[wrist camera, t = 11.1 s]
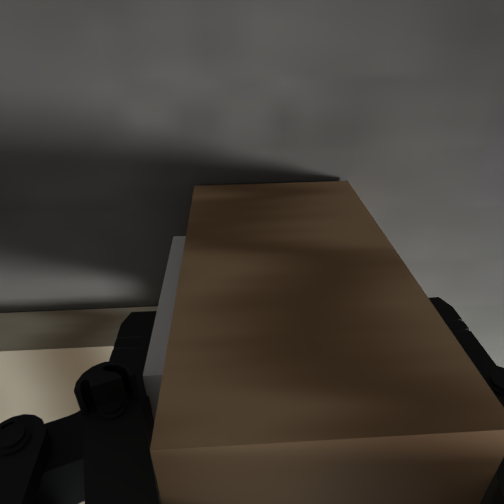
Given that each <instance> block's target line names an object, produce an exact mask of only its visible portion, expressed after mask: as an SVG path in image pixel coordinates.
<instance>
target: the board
mask: <svg viewBox="0 0 504 504" xmlns="http://www.w3.org/2000/svg"><path fill="white" fill-rule="evenodd" d="M157 308H158V306H152V307H129V308H105V309H82V310H59V311H36V312H13V313H0V423H1V422H3V421H5V420H7V419H9V418H11V417H14V416H18V415H22V414H30V415H36V416H37V417H39V418H41V419H42V420H43V422H44V424H45V423H48V422H51V421H54V420H57V419H60V418H63V417H67V416H69V415H72V414H74V413H76V412H78V411H80V408H79V405H78V402H77V399H76V396H75V393H74V388H75V384H76V382H77V380H78V379H79V378H80V376H81V375H82V374H83V373H84V372H85V371H87V370H88V369H89V368H91V367H92V366H95V365H97V364H100V363H102V362H108V361H109V359H110V356H111V353H112V350H113V349H114V344H115V341H116V339H117V335H118V332H119V328H120V325H121V323H122V322H123V321H124V320H125V319H126V318H127V316H128V315H129V314H130V313H131V312H143V311H157ZM79 504H85V501H84V502H81V503H79Z"/></svg>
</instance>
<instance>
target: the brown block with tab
mask: <svg viewBox="0 0 504 504" xmlns="http://www.w3.org/2000/svg"><path fill="white" fill-rule="evenodd" d="M150 453H151V458H152V462H153V466H154V471H155V475H156V479H157V483H158V488H159V492H160V496H161V501H162V504H480V502H481V500H482V498H483V496H484V494H485V492H486V490H487V488H488V487H489V485H490V483H491V481H492V479H493V477H494V475H495V473H496V471H497V469H498V467H499V465H500V463H501V461H502V460H503V458H504V407H503V406H502V404H501V403H500V402H499V400H498V399H497V397H496V396H495V394H494V393H493V391H492V390H491V388H490V387H489V386H488V384H487V383H486V381H485V380H484V378H483V377H482V375H481V374H480V373H479V371H478V370H477V368H476V367H475V365H474V364H473V362H472V361H471V359H470V358H469V357H468V355H467V354H466V352H465V351H464V349H463V348H462V346H461V345H460V343H459V342H458V341H457V339H456V338H455V336H454V335H453V333H452V332H451V330H450V329H449V327H448V326H447V325H446V323H445V322H444V320H443V319H442V317H441V316H440V314H439V313H438V312H437V310H436V309H435V307H434V306H433V304H432V303H431V301H430V300H429V298H428V297H427V296H426V294H425V293H424V291H423V290H422V288H421V287H420V285H419V284H418V282H417V281H416V280H415V278H414V277H413V275H412V274H411V272H410V271H409V269H408V268H407V267H406V265H405V264H404V262H403V261H402V259H401V258H400V256H399V255H398V253H397V252H396V251H395V249H394V248H393V246H392V245H391V243H390V242H389V240H388V239H387V237H386V236H385V235H384V233H383V232H382V230H381V229H380V227H379V226H378V224H377V223H376V222H375V220H374V219H373V217H372V216H371V214H370V213H369V211H368V210H367V208H366V207H365V206H364V204H363V203H362V201H361V200H360V198H359V197H358V195H357V194H356V192H355V191H354V190H353V188H352V187H351V185H350V184H349V182H348V181H329V182H297V183H266V184H234V185H202V186H194V191H193V197H192V203H191V208H190V214H189V220H188V226H187V232H186V238H185V244H184V250H183V256H182V262H181V268H180V274H179V280H178V286H177V292H176V298H175V304H174V310H173V316H172V322H171V327H170V333H169V339H168V345H167V351H166V357H165V363H164V369H163V375H162V381H161V387H160V393H159V399H158V405H157V411H156V417H155V423H154V429H153V435H152V441H151V447H150Z"/></svg>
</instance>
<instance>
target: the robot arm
mask: <svg viewBox="0 0 504 504" xmlns="http://www.w3.org/2000/svg"><path fill="white" fill-rule="evenodd" d="M185 238H186V236H173V240H172V245H171V249H170V254H169V258H168V263H167V267H166V272H165V276H164V281H163V285H162V290H161V295H160V299H159V304H158V308H157V311H143V312H131V313H130V314H129V315H128V316H127V318H126V319H125V320H124V321H123V322H122V323H121V325H120V328H119V332H118V335H117V339H116V341H115V344H114V349H113V350H112V353H111V356H110V359H109V361H108V362H102V363H100V364H97V365H95V366H92V367H91V368H89V369H88V370H87V371H85V372H84V373H83V374H82V375H81V376H80V378H79V379H78V380H77V382H76V384H75V388H74V393H75V396H76V399H77V402H78V405H79V408H80V411H78V412H76V413H74V414H72V415H69V416H67V417H63V418H60V419H57V420H54V421H51V422H48V423H45V424H44V422H43V420H42V419H41V418H39V417H37V416H36V415H30V414H22V415H18V416H14V417H11V418H9V419H7V420H5V421H3V422H1V423H0V504H79V503H81V502H84V501H85V504H162V501H161V496H160V492H159V488H158V483H157V479H156V475H155V471H154V466H153V462H152V458H151V453H150V447H151V441H152V435H153V429H154V423H155V417H156V411H157V405H158V399H159V393H160V387H161V381H162V375H163V369H164V363H165V357H166V351H167V345H168V339H169V333H170V327H171V322H172V316H173V310H174V304H175V298H176V292H177V286H178V280H179V274H180V268H181V262H182V256H183V250H184V244H185ZM429 300H430V301H431V303H432V304H433V306H434V307H435V309H436V310H437V312H438V313H439V314H440V316H441V317H442V319H443V320H444V322H445V323H446V325H447V326H448V327H449V329H450V330H451V332H452V333H453V335H454V336H455V338H456V339H457V341H458V342H459V343H460V345H461V346H462V348H463V349H464V351H465V352H466V354H467V355H468V357H469V358H470V359H471V361H472V362H473V364H474V365H475V367H476V368H477V370H478V371H479V373H480V374H481V375H482V377H483V378H484V380H485V381H486V383H487V384H488V386H489V387H490V388H491V390H492V391H493V393H494V394H495V396H496V397H497V399H498V400H499V402H500V403H501V404H502V406H503V407H504V368H502V367H499V366H496V364H495V363H494V362H493V360H492V359H491V358H490V356H489V355H488V354H487V352H486V351H485V350H484V348H483V347H482V346H481V344H480V343H479V342H478V340H477V339H476V338H475V336H474V335H473V334H472V332H471V331H469V328H468V327H467V326H466V324H465V323H464V321H462V319H461V317H460V316H459V315H458V313H457V312H456V311H455V309H454V308H453V307H452V306H450V305H449V304H448V303H446V302H445V301H443V300H442V299H441V298H439V297H434V298H429ZM480 504H504V458H503V460H502V461H501V463H500V465H499V467H498V469H497V471H496V473H495V475H494V477H493V479H492V481H491V483H490V485H489V487H488V488H487V490H486V492H485V494H484V496H483V498H482V500H481V502H480Z"/></svg>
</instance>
